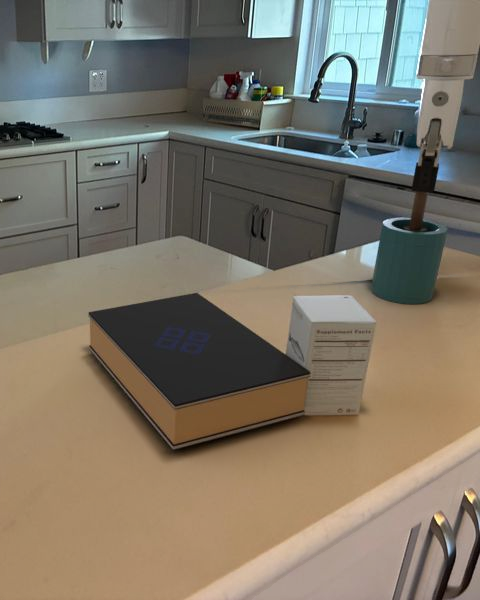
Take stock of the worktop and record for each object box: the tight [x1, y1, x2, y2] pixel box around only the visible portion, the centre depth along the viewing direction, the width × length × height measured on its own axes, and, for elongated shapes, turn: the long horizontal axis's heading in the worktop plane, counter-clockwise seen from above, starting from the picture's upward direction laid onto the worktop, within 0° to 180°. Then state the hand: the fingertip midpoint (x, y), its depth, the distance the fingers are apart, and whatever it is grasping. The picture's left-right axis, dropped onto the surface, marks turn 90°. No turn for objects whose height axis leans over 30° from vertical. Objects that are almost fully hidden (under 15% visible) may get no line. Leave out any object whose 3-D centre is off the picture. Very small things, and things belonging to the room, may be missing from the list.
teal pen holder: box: [370, 217, 449, 305], centre depth 103 cm, size 9×9×12 cm
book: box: [87, 292, 311, 451], centre depth 79 cm, size 17×25×7 cm
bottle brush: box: [403, 159, 434, 232], centre depth 100 cm, size 4×4×16 cm
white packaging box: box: [285, 294, 377, 416], centre depth 73 cm, size 7×7×13 cm
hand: (422, 188), depth 99 cm, fingers closed on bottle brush
